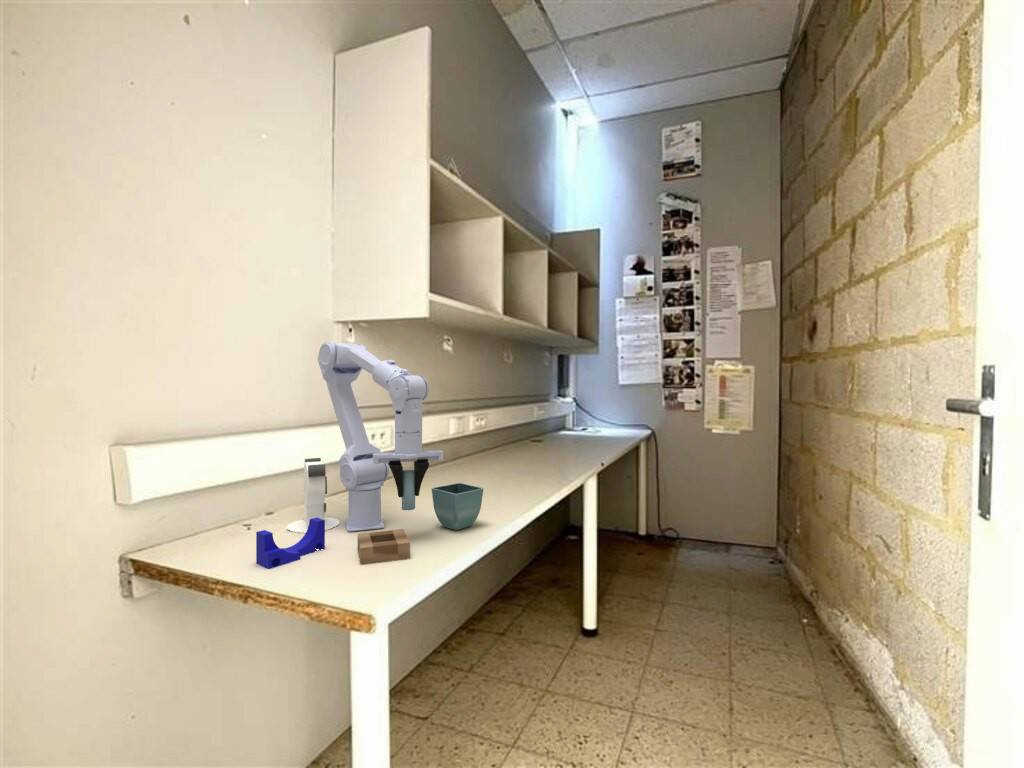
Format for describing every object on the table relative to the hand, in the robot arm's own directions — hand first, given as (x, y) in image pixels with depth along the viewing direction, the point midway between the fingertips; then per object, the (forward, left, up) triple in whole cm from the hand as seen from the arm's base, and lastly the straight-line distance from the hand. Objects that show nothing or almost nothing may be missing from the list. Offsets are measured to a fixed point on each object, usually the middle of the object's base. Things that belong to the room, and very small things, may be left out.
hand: (408, 495), depth 104 cm
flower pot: (-5, +12, -9) cm, 16 cm away
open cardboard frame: (+7, -6, -9) cm, 13 cm away
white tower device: (-17, -19, -9) cm, 27 cm away
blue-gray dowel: (0, 0, -3) cm, 3 cm away
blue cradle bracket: (+3, -22, -10) cm, 24 cm away
